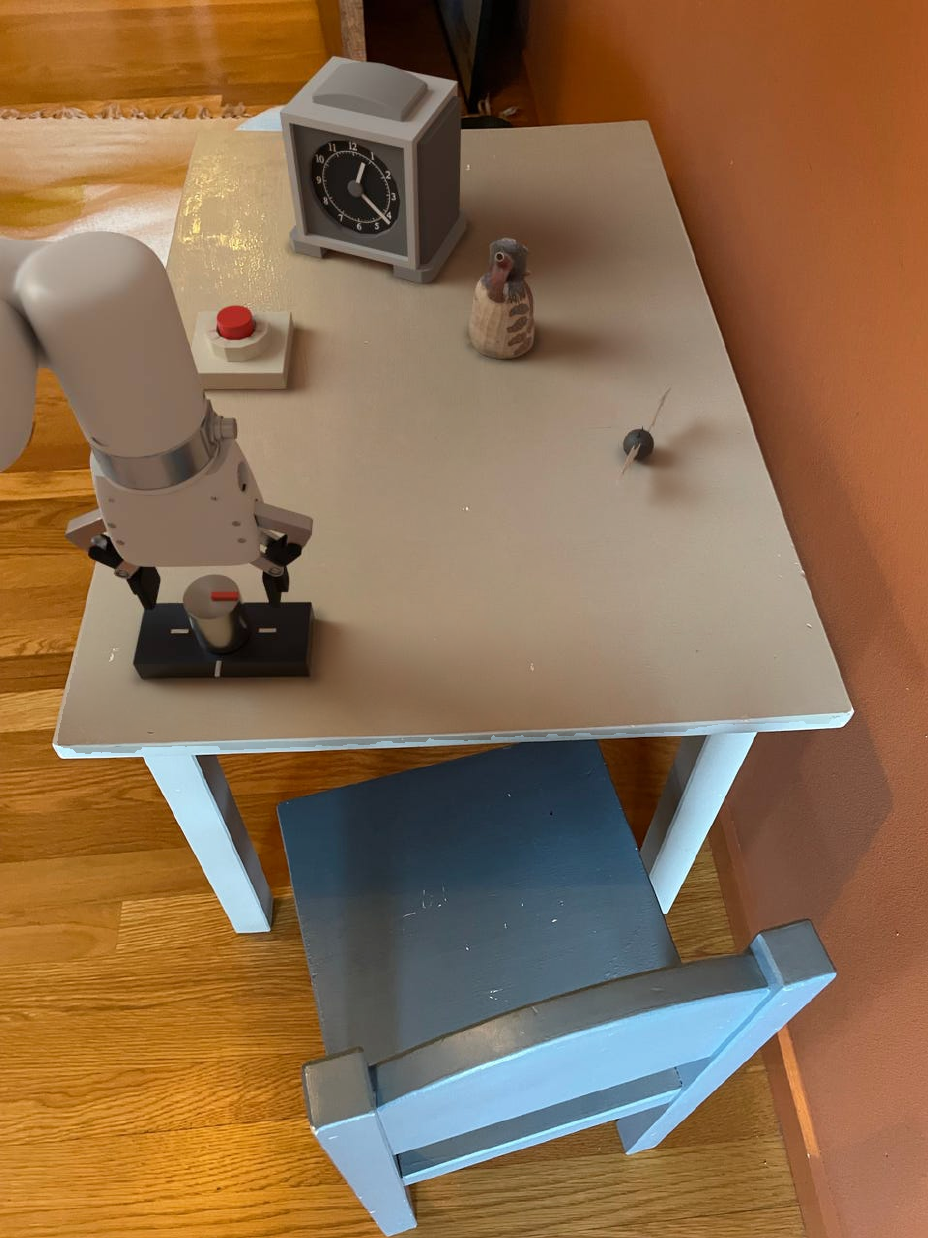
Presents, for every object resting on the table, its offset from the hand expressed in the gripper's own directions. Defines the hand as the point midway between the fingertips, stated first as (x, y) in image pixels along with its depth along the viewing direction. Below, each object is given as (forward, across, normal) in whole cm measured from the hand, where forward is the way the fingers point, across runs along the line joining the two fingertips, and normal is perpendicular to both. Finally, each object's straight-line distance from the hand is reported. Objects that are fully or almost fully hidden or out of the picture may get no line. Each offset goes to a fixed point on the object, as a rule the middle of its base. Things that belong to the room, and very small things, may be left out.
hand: (215, 594), depth 71 cm
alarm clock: (+8, -10, -59) cm, 60 cm away
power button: (+4, +3, -37) cm, 37 cm away
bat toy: (+9, -37, -22) cm, 44 cm away
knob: (+5, 0, 0) cm, 5 cm away
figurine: (+8, -24, -40) cm, 48 cm away
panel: (+8, 0, 0) cm, 8 cm away
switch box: (+8, +4, -37) cm, 38 cm away
